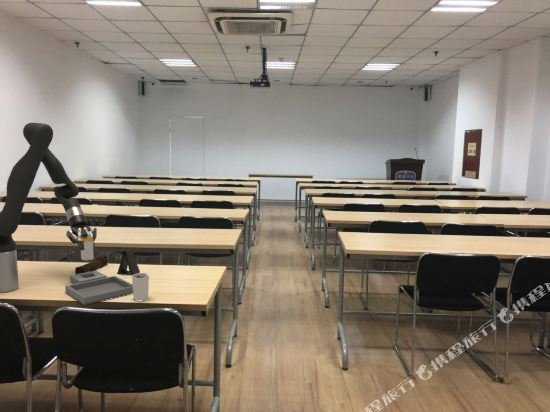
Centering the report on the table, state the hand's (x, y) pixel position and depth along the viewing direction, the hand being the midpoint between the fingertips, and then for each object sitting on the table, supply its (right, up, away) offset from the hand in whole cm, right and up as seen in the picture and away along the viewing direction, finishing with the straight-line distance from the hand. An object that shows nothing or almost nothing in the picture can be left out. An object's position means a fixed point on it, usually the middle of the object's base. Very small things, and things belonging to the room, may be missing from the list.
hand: (87, 248), depth 196 cm
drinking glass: (+30, -19, -17) cm, 39 cm away
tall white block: (-1, -5, +1) cm, 5 cm away
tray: (+10, -18, -11) cm, 24 cm away
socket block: (-1, -16, +3) cm, 16 cm away
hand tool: (-7, -13, +23) cm, 27 cm away
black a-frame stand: (+13, -14, +18) cm, 26 cm away
